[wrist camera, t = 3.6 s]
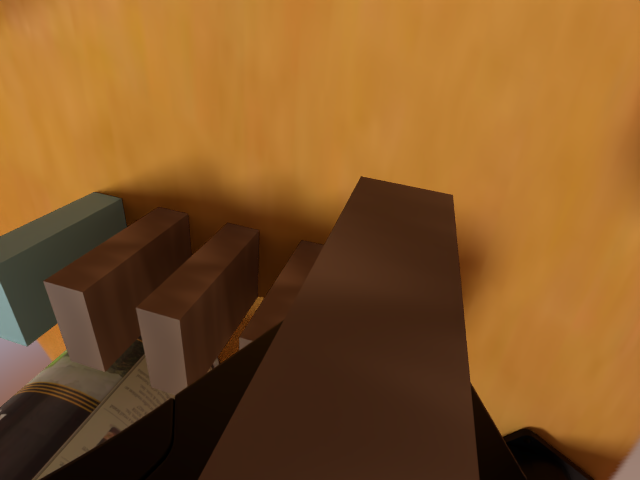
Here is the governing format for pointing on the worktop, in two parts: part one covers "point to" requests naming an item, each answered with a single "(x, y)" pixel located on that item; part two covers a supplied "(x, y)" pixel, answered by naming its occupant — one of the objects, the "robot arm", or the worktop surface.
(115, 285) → the domino
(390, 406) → the domino
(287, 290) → the domino
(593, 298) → the worktop surface
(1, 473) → the coffee can
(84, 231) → the domino
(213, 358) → the domino
